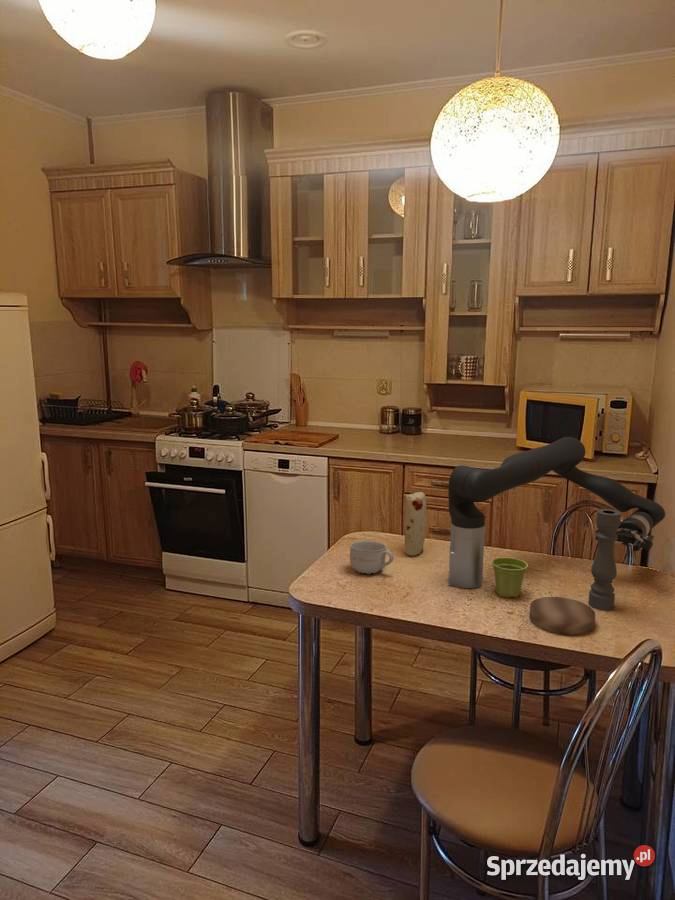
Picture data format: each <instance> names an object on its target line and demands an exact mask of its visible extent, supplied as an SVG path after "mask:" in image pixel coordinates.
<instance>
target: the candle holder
mask: <svg viewBox="0 0 675 900" xmlns="http://www.w3.org/2000/svg"><path fill="white" fill-rule="evenodd" d="M595 516H596V517H595V524H596V527H597V530H599V532H598V533H596V532H595V536H596V537H597V538H598V540H597V550H596V554H595V557H594V559H593V563H592V565H591V567H590V569H591V571H590V572H591V573H590V574H591V575H592V577H593V583H591V584H590V589H589V592H588V593H589V594H588V606H589V607H591V608H592V609H595V610H597V611H598V610H600V611H611V610H614V608H615V600H616V594H615V587H614V586H613V584H612V583H613V580H615V579H616V577H617V575H618V572H617V563H616V557H615V544H616V543H615V541H616V540H617V539H618V536H617V535H616V534H615V533H616V532H617V530H618V529H619V526H620V522H621V519H622V518H621V517H622V512H620V511H618V510H617V509H616V510H615V509H609V508H608V509H607V508H606V509H605V508H600V509H597V510H596V515H595Z"/></svg>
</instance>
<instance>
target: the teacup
mask: <svg viewBox="0 0 675 900" xmlns="http://www.w3.org/2000/svg"><path fill="white" fill-rule="evenodd" d="M386 549H387V545H386V544H385V543H382V542H380V541H376V540H373V541H372V540H358V541H354V542H352V543H350V544H349V562H350V566H351V567H352V568H353V569H354V570H355V571H356V572H357V571H358V573H360V572H361V573H360V574H363V573H367V574H366V575H371V573H373V574H377V573H379V571H381V570H383V569H385V568H386V567H387V566H389V565H390V564H392V563H393V561H394V554H393V552H392V551H391V550H388V549H387V550H386ZM386 555H388V557H389V559H388V561H387V562H386V557H387V556H386Z"/></svg>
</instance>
